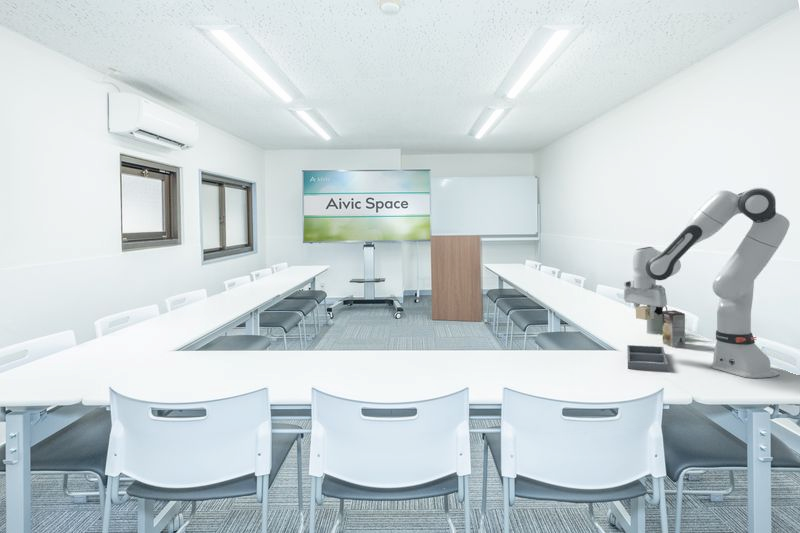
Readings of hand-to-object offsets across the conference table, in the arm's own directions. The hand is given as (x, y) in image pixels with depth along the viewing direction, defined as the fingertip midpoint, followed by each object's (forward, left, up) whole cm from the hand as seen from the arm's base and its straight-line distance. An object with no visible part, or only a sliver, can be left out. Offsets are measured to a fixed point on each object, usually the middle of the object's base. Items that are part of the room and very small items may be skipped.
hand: (644, 314), depth 208 cm
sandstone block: (0, 0, -2) cm, 2 cm away
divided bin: (-6, +3, -19) cm, 20 cm away
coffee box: (+15, -24, -19) cm, 34 cm away
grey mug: (+42, -34, -19) cm, 57 cm away
